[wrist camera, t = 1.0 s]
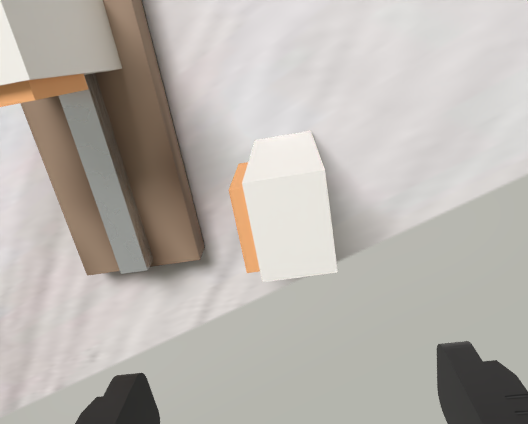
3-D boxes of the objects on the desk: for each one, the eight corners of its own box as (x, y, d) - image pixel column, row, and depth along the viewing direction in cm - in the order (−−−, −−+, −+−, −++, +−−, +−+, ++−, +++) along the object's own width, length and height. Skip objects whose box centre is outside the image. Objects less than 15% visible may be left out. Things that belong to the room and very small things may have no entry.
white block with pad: (243, 141, 29) (225, 185, 19) (310, 130, 28) (325, 170, 19) (257, 213, 31) (247, 284, 21) (320, 204, 30) (337, 272, 21)
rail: (131, -40, 25) (8, -114, 14) (204, 247, 32) (163, 352, 21) (-4, -11, 26) (-221, -57, 15) (98, 262, 33) (4, 371, 22)
